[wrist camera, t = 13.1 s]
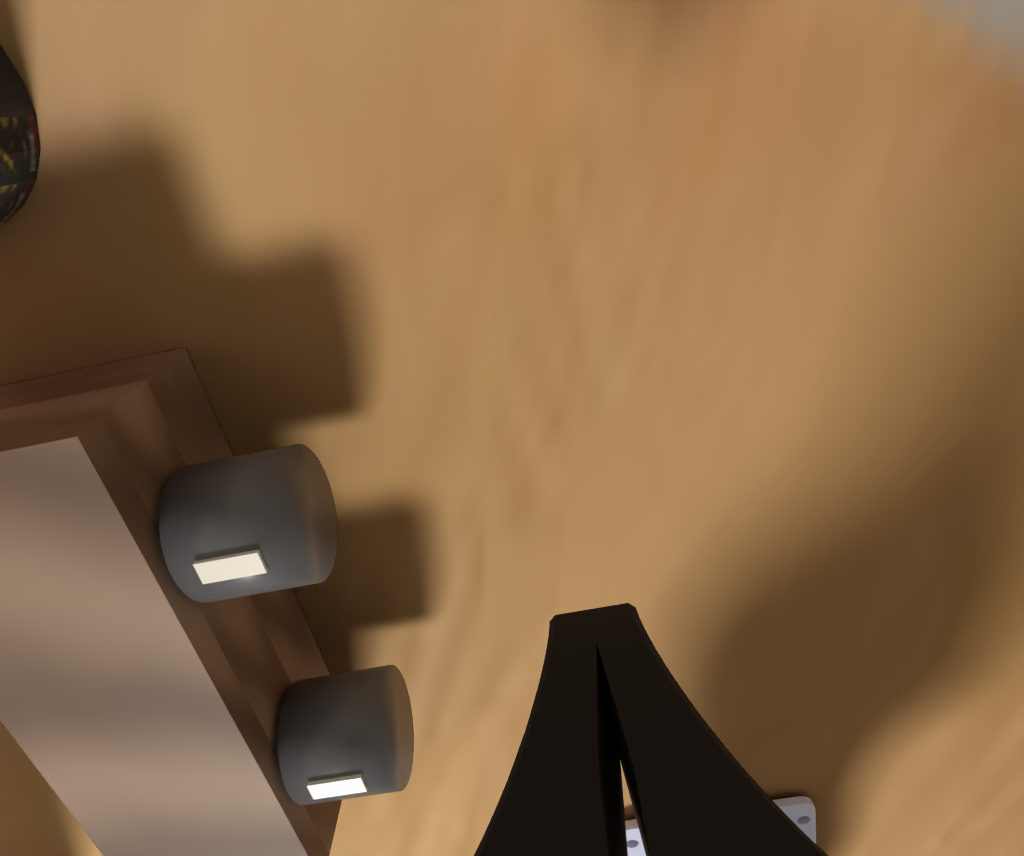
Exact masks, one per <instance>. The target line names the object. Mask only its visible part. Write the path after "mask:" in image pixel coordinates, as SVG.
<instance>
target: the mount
mask: <svg viewBox="0 0 1024 856" xmlns="http://www.w3.org/2000/svg"><path fill="white" fill-rule="evenodd" d="M229 457H233V454H232V452H231V450H230V448H229V445H228V443H227V441H226V439H225V436H224V434H223V432H222V430H221V427H220V425H219V423H218V421H217V418H216V416H215V414H214V411H213V409H212V407H211V405H210V402H209V400H208V398H207V396H206V393H205V391H204V389H203V387H202V384H201V382H200V380H199V378H198V375H197V373H196V371H195V369H194V366H193V364H192V362H191V360H190V357H189V355H188V353H187V351H186V348H185V347H184V348H180V349H175V350H170V351H165V352H160V353H156V354H151V355H146V356H141V357H137V358H132V359H127V360H122V361H117V362H113V363H108V364H103V365H98V366H93V367H89V368H84V369H79V370H74V371H69V372H65V373H60V374H55V375H50V376H46V377H41V378H36V379H31V380H26V381H22V382H17V383H12V384H7V385H2V386H0V721H1V722H2V724H3V725H4V726H5V728H6V729H7V730H8V731H9V733H10V734H11V735H12V737H13V738H14V739H15V741H16V742H17V743H18V745H19V746H20V747H21V748H22V750H23V751H24V752H25V754H26V755H27V756H28V758H29V759H30V760H31V762H32V763H33V764H34V765H35V767H36V768H37V769H38V771H39V772H40V773H41V775H42V776H43V777H44V779H45V780H46V781H47V783H48V784H49V785H50V786H51V788H52V789H53V790H54V792H55V793H56V794H57V796H58V797H59V798H60V800H61V801H62V802H63V803H64V805H65V806H66V807H67V809H68V810H69V811H70V813H71V814H72V815H73V817H74V818H75V819H76V820H77V822H78V823H79V824H80V826H81V827H82V828H83V830H84V831H85V832H86V834H87V835H88V836H89V837H90V839H91V840H92V841H93V843H94V844H95V845H96V847H97V848H98V849H99V851H100V852H101V853H102V854H103V856H329V854H330V849H331V845H332V841H333V836H334V832H335V827H336V823H337V819H338V814H339V810H340V805H341V801H342V800H336V801H329V802H323V803H316V804H309V805H299V804H297V803H295V802H294V801H293V800H292V799H291V797H290V796H289V794H288V792H287V790H286V788H285V785H284V782H283V779H282V775H281V771H280V766H279V758H278V756H277V754H276V752H275V750H274V745H275V742H276V739H277V736H278V726H279V718H280V712H281V708H282V704H283V701H284V698H285V696H286V694H287V692H288V690H289V688H290V687H291V686H292V684H294V683H295V682H296V681H298V680H302V679H308V678H314V677H320V676H326V675H330V673H329V671H328V669H327V666H326V664H325V662H324V660H323V657H322V655H321V653H320V651H319V648H318V646H317V644H316V642H315V639H314V637H313V635H312V633H311V630H310V628H309V626H308V624H307V621H306V619H305V617H304V614H303V612H302V610H301V608H300V605H299V603H298V601H297V599H296V596H295V594H294V592H293V590H292V588H288V589H283V590H277V591H271V592H266V593H260V594H254V595H248V596H243V597H237V598H231V599H226V600H220V601H214V602H209V603H201V602H197V601H194V600H192V599H191V598H189V597H188V596H186V595H185V594H184V593H183V592H182V591H181V590H180V588H179V587H178V586H177V584H176V583H175V581H174V579H173V578H172V576H171V574H170V572H169V570H168V567H167V565H166V562H165V559H164V555H163V552H162V547H161V542H160V533H159V530H158V528H157V526H156V523H157V522H158V521H159V511H160V504H161V499H162V495H163V492H164V489H165V487H166V485H167V483H168V481H169V479H170V478H171V476H172V475H173V474H174V473H175V472H176V471H177V470H178V469H180V468H182V467H184V466H187V465H193V464H198V463H203V462H208V461H213V460H218V459H224V458H229Z"/></svg>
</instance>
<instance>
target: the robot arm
mask: <svg viewBox="0 0 1024 856" xmlns="http://www.w3.org/2000/svg"><path fill="white" fill-rule="evenodd" d="M620 760H621V764H622V768H623V771H624V775H625V779H626V783H627V786H628V790H629V794H630V798H631V801H632V805H633V809H634V813H635V816H636V819H634V820H627V821H625V813H624V801H623V789H622V777H621V765H620ZM474 856H828V855H827V854H826V853H825V852H824V851H823V850H822V849H821V848H820V847H818V846H817V845H816V810H815V807H814V804H813V802H812V800H811V799H810V798H808V797H805V796H797V797H790V798H783V799H776V800H772V799H771V798H770V797H769V796H768V795H767V794H766V793H765V792H764V791H763V789H762V788H761V787H760V786H759V785H758V784H757V783H756V782H755V781H754V780H753V779H752V777H751V776H750V775H749V774H748V773H747V772H746V771H745V769H744V768H743V767H742V766H741V765H740V764H739V763H738V761H737V760H736V759H735V758H734V757H733V755H732V754H731V753H730V752H729V751H728V749H727V748H726V747H725V746H724V744H723V743H722V742H721V741H720V739H719V738H718V737H717V736H716V734H715V733H714V732H713V731H712V729H711V728H710V727H709V726H708V724H707V723H706V722H705V721H704V719H703V718H702V717H701V715H700V714H699V713H698V711H697V710H696V709H695V707H694V706H693V704H692V703H691V702H690V700H689V699H688V697H687V696H686V694H685V693H684V692H683V690H682V689H681V687H680V686H679V684H678V683H677V682H676V680H675V679H674V677H673V676H672V674H671V673H670V671H669V670H668V668H667V667H666V665H665V663H664V662H663V660H662V659H661V657H660V655H659V654H658V652H657V650H656V649H655V647H654V645H653V643H652V642H651V640H650V638H649V636H648V634H647V632H646V630H645V628H644V627H643V624H642V622H641V620H640V618H639V615H638V613H637V610H636V608H635V607H634V606H632V605H631V604H629V603H625V604H619V605H613V606H607V607H601V608H595V609H589V610H583V611H577V612H571V613H565V614H559V615H555V616H554V617H553V619H552V620H551V621H550V627H549V637H548V644H547V650H546V655H545V660H544V665H543V669H542V673H541V678H540V682H539V686H538V689H537V693H536V696H535V700H534V703H533V707H532V710H531V714H530V717H529V721H528V724H527V727H526V730H525V733H524V736H523V739H522V742H521V745H520V747H519V750H518V753H517V756H516V759H515V761H514V764H513V767H512V770H511V773H510V775H509V778H508V780H507V783H506V785H505V788H504V790H503V793H502V795H501V798H500V800H499V802H498V805H497V807H496V810H495V812H494V814H493V816H492V818H491V821H490V823H489V825H488V827H487V830H486V832H485V834H484V836H483V838H482V840H481V842H480V844H479V846H478V848H477V850H476V852H475V854H474Z"/></svg>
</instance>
